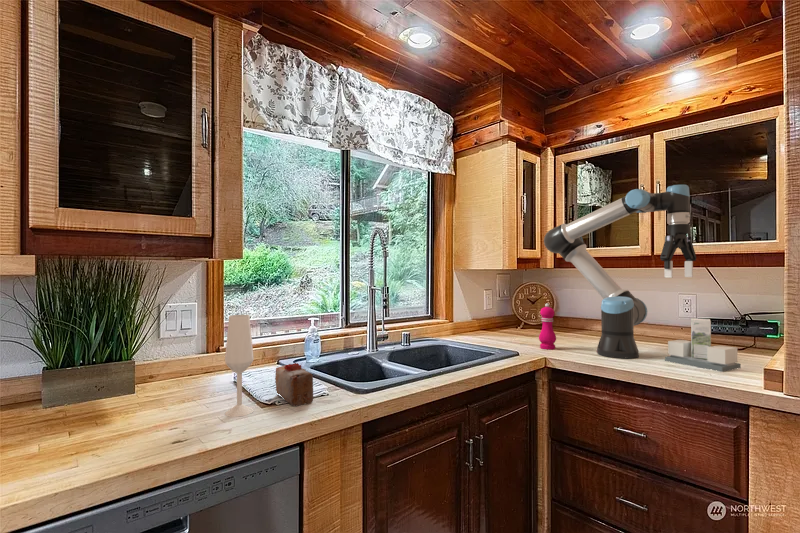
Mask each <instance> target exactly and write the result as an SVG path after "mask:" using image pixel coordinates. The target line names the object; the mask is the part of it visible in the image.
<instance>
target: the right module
mask: <svg viewBox="0 0 800 533" xmlns="http://www.w3.org/2000/svg"><path fill="white" fill-rule="evenodd" d="M738 357H739V356H738V347H734V346H728V345H720V344H719V345H714V346H712V345H711V347H707V361H709V362H715V363H720V364H730V363H739V362H738V359H739V358H738Z"/></svg>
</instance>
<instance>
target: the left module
mask: <svg viewBox="0 0 800 533" xmlns="http://www.w3.org/2000/svg"><path fill="white" fill-rule="evenodd" d="M667 355H669V356H671V355H675V356H681V357H686V356H692V355H691V340H686V339H676V340H675V339H674V340H668V341H667Z"/></svg>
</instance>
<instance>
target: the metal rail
mask: <svg viewBox="0 0 800 533" xmlns="http://www.w3.org/2000/svg"><path fill="white" fill-rule="evenodd" d="M670 356H674V357H679V358H685V359H690V360H696V361H701V362H707V363H712V364H718V365H723V366H731V365H735V363H736V362H735V363H730V364H720V363H715V362H709V361H707V360H706V359H696V358H692V356H686V357H681V356H675V355H670Z"/></svg>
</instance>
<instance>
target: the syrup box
mask: <svg viewBox="0 0 800 533" xmlns="http://www.w3.org/2000/svg"><path fill="white" fill-rule="evenodd" d="M690 322H691V323H690V324H691V328H690V329H691V330H690V332H691V334H690V335H691V336H690V338H691V340H690V341H691V355H692V358H696V359H706V360H707V347H711V346H712V340H711V339H712V335H711V334H712V321H711V319H710V318H702V317H691V320H690Z"/></svg>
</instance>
